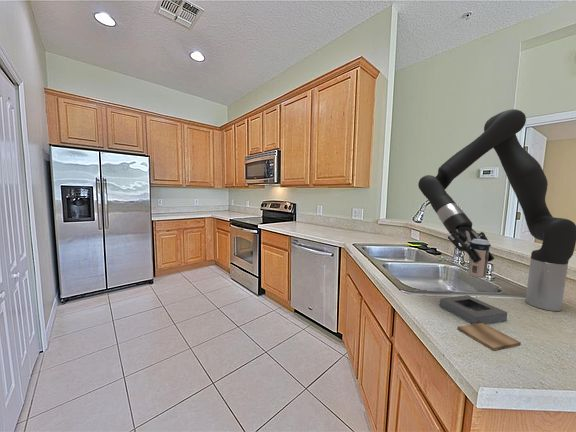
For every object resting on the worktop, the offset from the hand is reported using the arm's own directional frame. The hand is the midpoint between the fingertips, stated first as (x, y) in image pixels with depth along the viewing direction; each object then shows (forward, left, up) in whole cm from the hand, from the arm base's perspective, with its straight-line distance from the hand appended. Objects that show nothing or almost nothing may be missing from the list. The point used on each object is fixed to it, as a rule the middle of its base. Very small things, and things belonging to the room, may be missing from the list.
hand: (484, 260), depth 75 cm
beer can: (0, -2, -6) cm, 6 cm away
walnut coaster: (+7, +8, -20) cm, 22 cm away
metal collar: (-2, -4, -20) cm, 20 cm away
